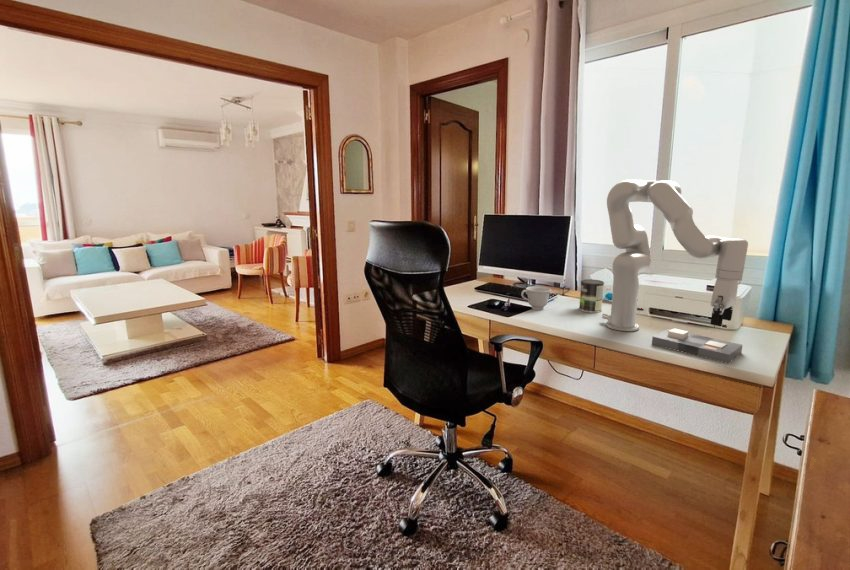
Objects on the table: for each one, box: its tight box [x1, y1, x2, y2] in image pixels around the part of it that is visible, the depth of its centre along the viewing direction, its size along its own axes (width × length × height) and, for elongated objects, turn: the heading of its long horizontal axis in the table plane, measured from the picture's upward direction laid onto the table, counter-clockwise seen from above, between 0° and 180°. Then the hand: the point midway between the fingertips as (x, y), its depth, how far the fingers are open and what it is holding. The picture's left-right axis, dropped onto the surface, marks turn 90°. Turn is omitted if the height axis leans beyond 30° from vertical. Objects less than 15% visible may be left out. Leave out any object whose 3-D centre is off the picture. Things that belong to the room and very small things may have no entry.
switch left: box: [668, 327, 689, 340], centre depth 155 cm, size 5×5×3 cm
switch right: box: [705, 341, 727, 349], centre depth 146 cm, size 5×5×3 cm
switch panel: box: [651, 328, 743, 364], centre depth 150 cm, size 24×14×3 cm, turn 39°
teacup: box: [520, 285, 552, 311], centre depth 205 cm, size 12×15×10 cm
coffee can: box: [578, 278, 605, 314], centre depth 201 cm, size 10×10×14 cm
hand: (720, 322), depth 147 cm, fingers open, 9 cm apart
